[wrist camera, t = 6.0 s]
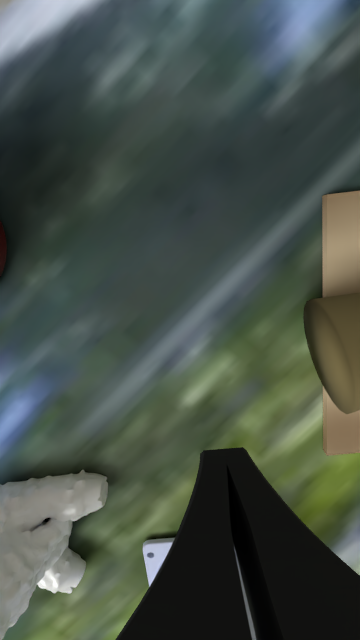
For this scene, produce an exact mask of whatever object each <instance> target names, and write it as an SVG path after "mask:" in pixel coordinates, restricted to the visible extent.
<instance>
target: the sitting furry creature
mask: <svg viewBox="0 0 360 640" xmlns="http://www.w3.org/2000/svg"><path fill="white" fill-rule="evenodd" d="M106 480H107V477H105V476H103V475H101V474H98V473H87V472H85V471H84V470H82V471H81V472H80V473H78V474H72V473H71V474H67V475H60V476H53V477H52V476H50V475H48V476H46V477H44V478H40V479H36V478H30V479H29V480H27V481H19V482H7V483H6V484H4V485H1V484H0V640H2V639H3V637H4V635H5V632H6V631H7V629H8V628H9V627H12V626H13V625H14V624H15V623H16V622H17V620H18V618H19V616H20V615H21V614H23V613H24V612H25V611H26V609H27V608H28V605H29V599H30V598H31V596H32V592H33V591H35V587H36V584H37V585H38V586H39V587H40V588H43V589H44V588H45V589H47V590H50V591H51V592H52V593H56V592H57V591H59V592H65V593H69V594H70V593H71V592H72V590H73V587H75V588H76V586H77V585H78V583H79V582H80V580H81V578H82V576H83V574H84V571H85V568H86V562H85V561H84V560H83V559H81V557H80V555H78V554H77V553H75V552H73V551H72V550H71V549H69V548H68V542H69V536H70V535H71V529H72V521H77V520H78V519H80V518H81V517H82V516H86V515H88V514H89V513H91V512H95V511H97V510H99V509H100V508H102V507H103V506H104V505H105V503H106V499H107V493H108V482H106ZM46 518H51V519H50V520H49V521H48V522H43V520H44V519H46Z"/></svg>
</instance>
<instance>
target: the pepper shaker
mask: <svg viewBox="0 0 360 640" xmlns="http://www.w3.org/2000/svg"><path fill="white" fill-rule="evenodd" d="M304 328H305V334H306V339H307V344H308V347H309V351H310V354H311V357H312V361H313V363H314V366H315V368H316V371H317V374H318V376H319V378H320V380H321V382H322V384H323V386H324V389H325V390H326V392H327V394H328V395H329V397H330V398H331V400H332V402H333V403H334V404H335V405H336V406H337V408H338V409H339V410H340V411H342V412H344V413H345V414H350V413H353V412H356V411H359V410H360V292H359V293H352V294H345V295H338V296H331V297H324V298H317V299H311V300H309V301H307V302H306V305H305V307H304Z"/></svg>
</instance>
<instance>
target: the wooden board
mask: <svg viewBox="0 0 360 640" xmlns="http://www.w3.org/2000/svg"><path fill="white" fill-rule="evenodd" d="M322 219H323V298H324V297H331V296H338V295H345V294H352V293H359V292H360V191H352V192H344V193H335V194H327V195H323V196H322ZM323 450H324V452H325V453H326V455H327V456H328V455H339V454H350V453H360V410H359V411H356V412H353V413H350V414H345V413H344V412H342V411H340V410H339V409H338V408H337V406H336V405H335V404H334V403H333V402H332V400H331V398H330V397H329V395H328V394H327V392H326V390H325V389H324V386H323Z"/></svg>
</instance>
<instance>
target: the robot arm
mask: <svg viewBox="0 0 360 640" xmlns="http://www.w3.org/2000/svg"><path fill="white" fill-rule="evenodd" d="M150 552H151V553H150ZM143 554H144V559H145V565H146V571H147V576H148V582H149V589H148V590H147V592H146V594H145V595H144V597H143V599H142V600H141V602H140V604H139V605H138V607H137V608H136V610H135V611H134V613H133V614H132V616H131V617H130V619H129V620H128V622H127V623H126V625H125V626H124V628H123V629H122V631H121V632H120V634H119V635H118V637H117V638H116V640H360V575H358V574H357V573H356V572H355V571H354V570H352V569H351V568H350V567H349V566H348V565H347V564H346V563H345V562H343V561H342V560H341V559H340V558H339V557H338V556H337V555H336V554H334V553H333V552H332V551H331V550H330V549H329V548H328V547H327V546H326V545H325V544H324V543H323V542H322V541H321V540H320V539H319V538H318V537H317V536H316V535H315V534H314V533H313V532H312V531H311V530H310V529H309V528H308V527H307V526H306V525H305V524H304V523H303V522H302V521H301V520H300V519H299V518H298V517H297V516H296V514H295V513H294V512H293V511H292V510H291V509H290V508H289V507H288V506H287V504H286V503H285V502H284V501H283V500H282V499H281V497H280V496H279V495H278V494H277V492H276V491H275V490H274V489H273V488H272V486H271V485H270V484H269V483H268V481H267V480H266V479H265V477H264V476H263V475H262V473H261V472H260V470H259V469H258V468H257V466H256V465H255V463H254V462H253V460H252V459H251V457H250V456H249V454H248V452H247V451H246V450H245V449H244V448H243V447H242V448H229V449H217V450H205V451H203V452H202V453H201V454H200V465H199V470H198V474H197V478H196V482H195V486H194V489H193V492H192V495H191V499H190V502H189V505H188V507H187V510H186V512H185V515H184V517H183V520H182V522H181V525H180V528H179V530H178V532H177V534H176V537H175V538H164V539H152V540H147V541H145V542H144V544H143Z"/></svg>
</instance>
